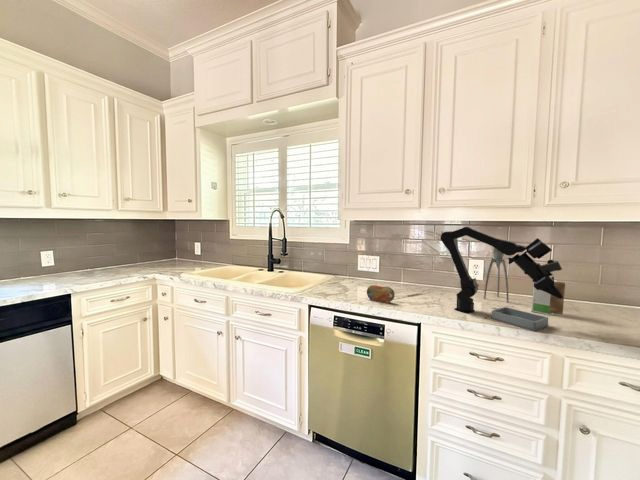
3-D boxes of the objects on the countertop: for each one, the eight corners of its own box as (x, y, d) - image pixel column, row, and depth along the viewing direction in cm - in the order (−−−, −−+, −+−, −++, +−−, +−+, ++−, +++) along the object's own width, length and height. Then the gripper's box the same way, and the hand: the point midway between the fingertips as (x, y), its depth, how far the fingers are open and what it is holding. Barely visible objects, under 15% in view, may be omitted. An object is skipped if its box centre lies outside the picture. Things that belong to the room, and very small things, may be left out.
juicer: (483, 298, 151) (485, 244, 149) (497, 296, 155) (500, 244, 153) (500, 303, 142) (503, 246, 140) (515, 301, 146) (518, 245, 144)
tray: (491, 318, 120) (491, 310, 120) (504, 314, 126) (505, 306, 125) (534, 331, 106) (535, 322, 106) (547, 325, 112) (548, 317, 112)
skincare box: (531, 311, 129) (532, 279, 128) (533, 308, 134) (535, 277, 133) (554, 316, 123) (556, 282, 122) (555, 312, 128) (557, 279, 127)
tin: (366, 299, 150) (366, 284, 149) (368, 298, 152) (369, 283, 152) (392, 304, 141) (393, 288, 140) (395, 302, 143) (395, 287, 143)
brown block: (549, 312, 109) (551, 282, 108) (549, 309, 112) (551, 281, 111) (562, 314, 107) (565, 284, 106) (562, 312, 110) (564, 282, 109)
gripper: (547, 255, 103) (585, 289, 97) (547, 251, 117) (580, 281, 111) (520, 273, 109) (554, 306, 103) (523, 267, 123) (553, 296, 117)
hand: (561, 296), depth 108 cm, fingers closed on brown block, 4 cm apart
